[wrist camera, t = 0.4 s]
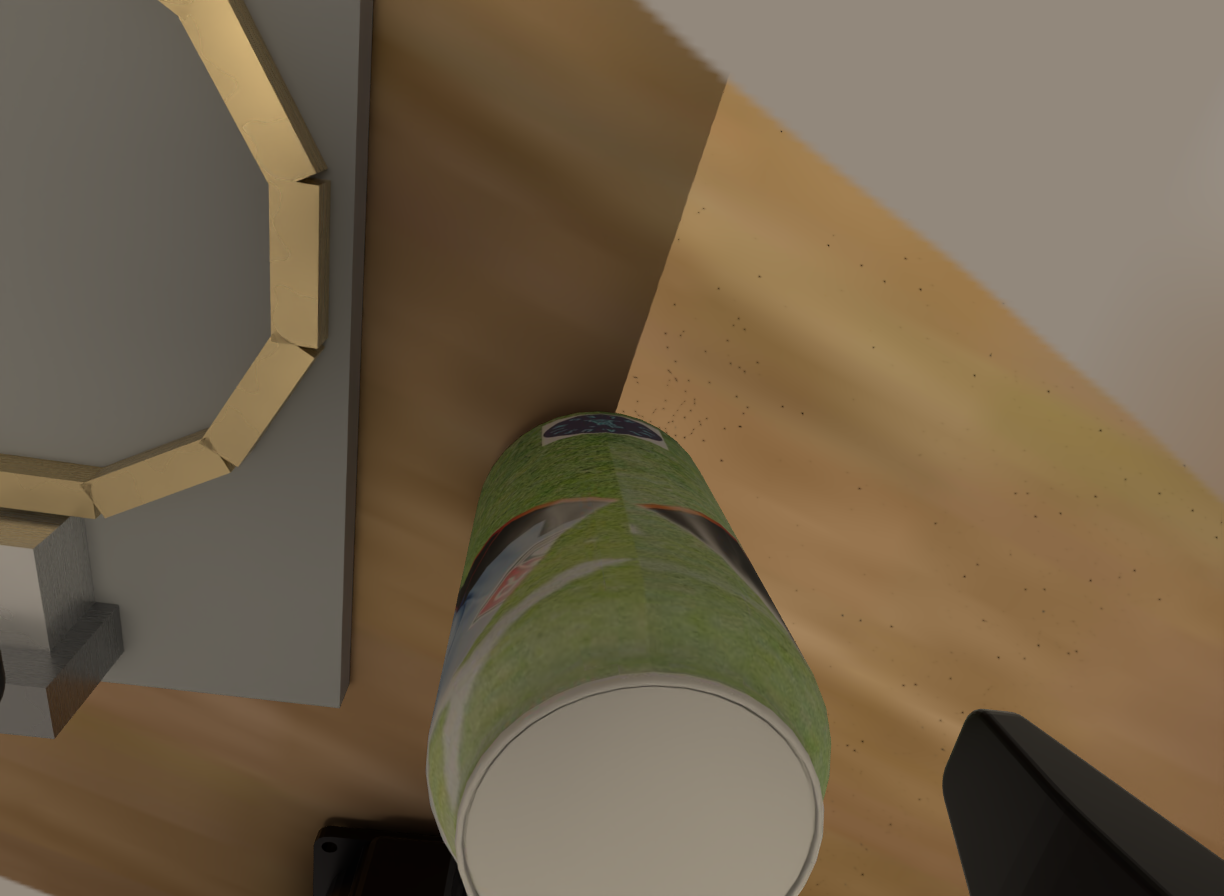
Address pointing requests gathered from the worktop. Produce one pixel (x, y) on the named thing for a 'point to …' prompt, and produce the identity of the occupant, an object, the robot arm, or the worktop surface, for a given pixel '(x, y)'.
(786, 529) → the worktop surface
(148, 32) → the base
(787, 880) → the beverage can
